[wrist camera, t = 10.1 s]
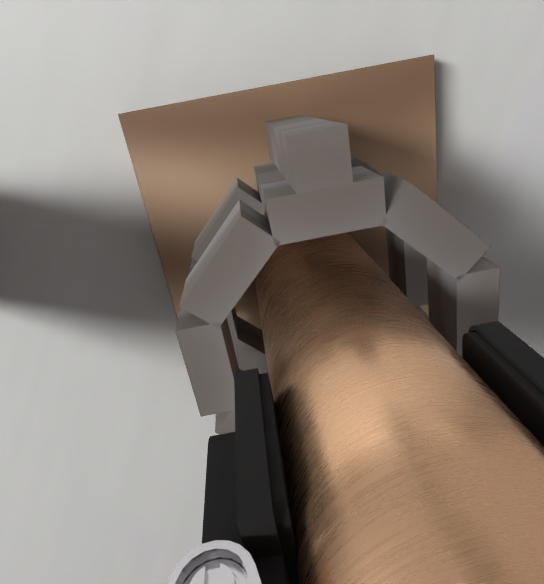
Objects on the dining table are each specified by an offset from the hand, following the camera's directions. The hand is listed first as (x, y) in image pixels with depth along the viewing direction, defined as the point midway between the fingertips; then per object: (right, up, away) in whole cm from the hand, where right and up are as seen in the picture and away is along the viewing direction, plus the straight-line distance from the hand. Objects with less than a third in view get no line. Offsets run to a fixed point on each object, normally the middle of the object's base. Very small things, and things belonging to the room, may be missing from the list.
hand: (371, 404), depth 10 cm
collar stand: (-1, +4, +10) cm, 11 cm away
